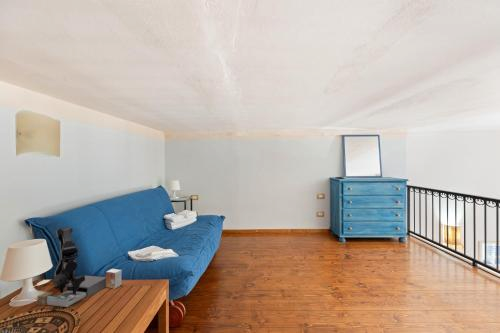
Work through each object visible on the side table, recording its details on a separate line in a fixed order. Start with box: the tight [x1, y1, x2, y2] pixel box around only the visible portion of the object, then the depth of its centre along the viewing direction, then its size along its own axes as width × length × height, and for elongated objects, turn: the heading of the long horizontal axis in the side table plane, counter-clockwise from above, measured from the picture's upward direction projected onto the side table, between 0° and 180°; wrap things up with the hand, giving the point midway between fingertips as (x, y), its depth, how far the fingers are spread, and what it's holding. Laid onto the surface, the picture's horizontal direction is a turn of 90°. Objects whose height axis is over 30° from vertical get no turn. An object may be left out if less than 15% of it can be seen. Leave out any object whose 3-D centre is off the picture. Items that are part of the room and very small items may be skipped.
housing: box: [65, 275, 107, 298], centre depth 156 cm, size 17×14×6 cm
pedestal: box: [36, 291, 54, 306], centre depth 140 cm, size 5×5×5 cm
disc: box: [60, 292, 76, 301], centre depth 143 cm, size 8×8×2 cm
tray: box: [46, 290, 87, 308], centre depth 143 cm, size 14×14×4 cm
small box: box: [105, 268, 123, 290], centre depth 161 cm, size 8×6×10 cm
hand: (67, 293), depth 143 cm, fingers open, 9 cm apart
